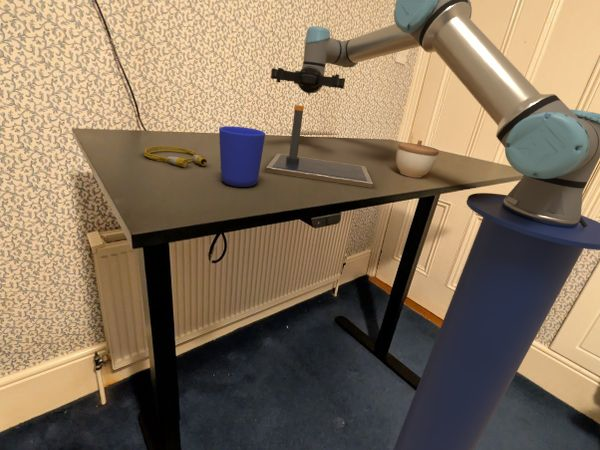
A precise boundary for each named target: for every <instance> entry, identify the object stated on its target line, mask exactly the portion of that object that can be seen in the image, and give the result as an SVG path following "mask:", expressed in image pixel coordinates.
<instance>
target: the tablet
mask: <svg viewBox="0 0 600 450" xmlns="http://www.w3.org/2000/svg"><path fill="white" fill-rule="evenodd" d="M287 156H289V154H285V153H280V152H279V153H276V155H275V156H274V157H273V158H272V160H271V161H270V162H269V163H268V165H267V166H265V172H266V173H269V174H270V173H271V174H275V175H276V174H277V175H283V176H290V177H297V178H302V179H310V180H315V181H316V180H317V181H323V182H330V183H337V184H343V185H350V186H356V187H362V188H369V189H372V188H373V185H374V183H373V180H372V178H371V176H370V174H369V172H368V170H367V168H366V165H358V164H352V163H351V164H350V163H345V162H337V161H332V160H324V159H319V158H312V157H305V156H299V155H297V157H299V158H300V159H299V163H298V164H292V163H288V162H286V158H287Z"/></svg>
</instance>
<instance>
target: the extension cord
mask: <svg viewBox="0 0 600 450" xmlns="http://www.w3.org/2000/svg"><path fill="white" fill-rule="evenodd" d="M162 152H172V153H182V154H189V155H192V157H189V158H184V157H179V156H170V155H169V156H167V157H166V156H161V155H157V154H155V153H162ZM144 156H145V157H146V158H148V159H149V160H153V161H156V162H162V163H170V164H172V165H174V167H175V166H177V167H181V168H187V167H189V163H191V162H195V164H197V165H199V166H200V165H201V166H203V167H204V166H207V163H208V160H207V159H206V158H205V157H204V156H202V155H199V154H198V153H197V152H196V151H194V150H191V149H187V148H184V147H179V146H174V145H173V146H172V145H154V146H150V147H147V148H145V150H144Z"/></svg>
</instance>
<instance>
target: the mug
mask: <svg viewBox="0 0 600 450" xmlns="http://www.w3.org/2000/svg"><path fill="white" fill-rule="evenodd" d="M218 133H219V135H218V136H219V137H218V138H219V154H220V156H219V157H220V175H221V179H222V182H224V183H225V184H226V185H228V186H231V187H235V188H237V187H238V188H249V187H253V186H255V185H256V184H257V182H258V180H259V177H260V170H261V163H262V162H261V161H262V157H263V152H264V151H263V150H264V145H265V139H266V132H265V131H263V130H260V129H256V128H251V127H244V126H232V125H231V126H220V127H219V129H218Z"/></svg>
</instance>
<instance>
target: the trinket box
mask: <svg viewBox="0 0 600 450" xmlns="http://www.w3.org/2000/svg"><path fill="white" fill-rule="evenodd" d="M439 153H440V150H439V149H437V148H435V147H431V146H428V145H424V144H423V140H420V139H419V140H417V143H413V142H411V143H410V142H409V143H408V142H399V143H398V144H397V150H396V153H395V164H396V167H397V169H398V170H399V173H400V174H401V175H403V176H406V177H410V178H414V179H415V178H417V179H421V178H423V177H424V176H426V175H427V174H428V173H430V172H431V171H432V169H433V168H434V166H435V163H436V161H437V158H438V155H439Z"/></svg>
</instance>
